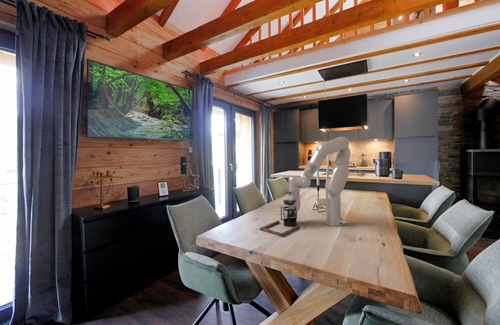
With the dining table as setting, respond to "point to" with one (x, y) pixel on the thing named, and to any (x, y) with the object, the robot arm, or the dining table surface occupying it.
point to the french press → (289, 213)
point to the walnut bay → (277, 232)
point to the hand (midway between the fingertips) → (294, 219)
